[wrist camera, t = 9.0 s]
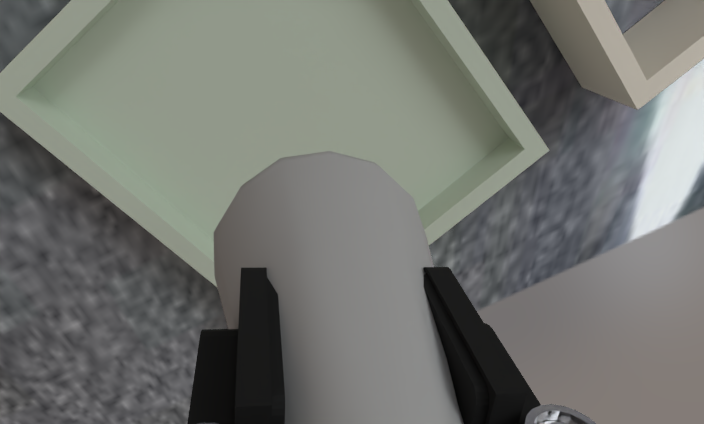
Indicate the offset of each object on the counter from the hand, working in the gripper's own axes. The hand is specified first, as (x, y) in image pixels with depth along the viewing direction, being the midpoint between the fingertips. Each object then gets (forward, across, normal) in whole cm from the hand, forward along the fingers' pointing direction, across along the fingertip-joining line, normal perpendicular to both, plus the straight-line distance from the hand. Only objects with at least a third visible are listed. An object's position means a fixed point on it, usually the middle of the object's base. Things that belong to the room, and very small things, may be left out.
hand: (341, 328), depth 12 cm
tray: (+19, 0, 0) cm, 19 cm away
